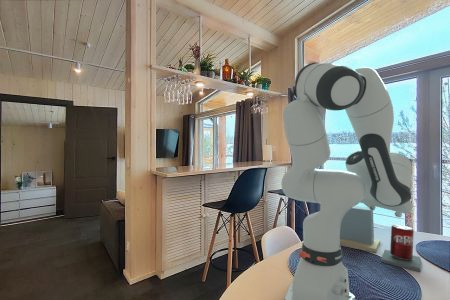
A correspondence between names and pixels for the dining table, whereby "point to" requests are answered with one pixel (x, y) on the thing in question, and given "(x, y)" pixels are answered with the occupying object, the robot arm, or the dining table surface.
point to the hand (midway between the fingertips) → (385, 212)
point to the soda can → (402, 242)
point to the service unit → (359, 229)
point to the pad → (401, 261)
